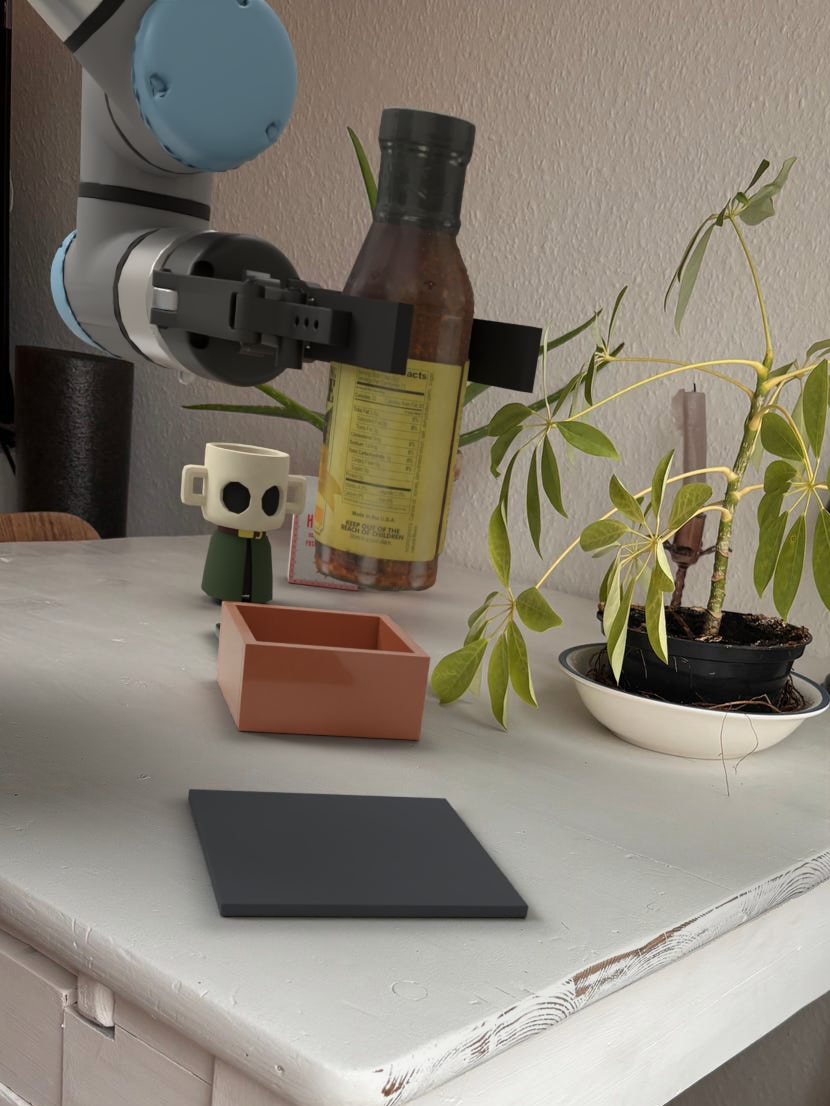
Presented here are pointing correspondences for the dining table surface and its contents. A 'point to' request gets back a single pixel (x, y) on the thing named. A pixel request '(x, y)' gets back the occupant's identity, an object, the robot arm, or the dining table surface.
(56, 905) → the dining table surface
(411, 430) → the sauce bottle
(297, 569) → the white red box
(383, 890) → the mat
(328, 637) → the holder
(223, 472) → the character mug
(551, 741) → the dining table surface
